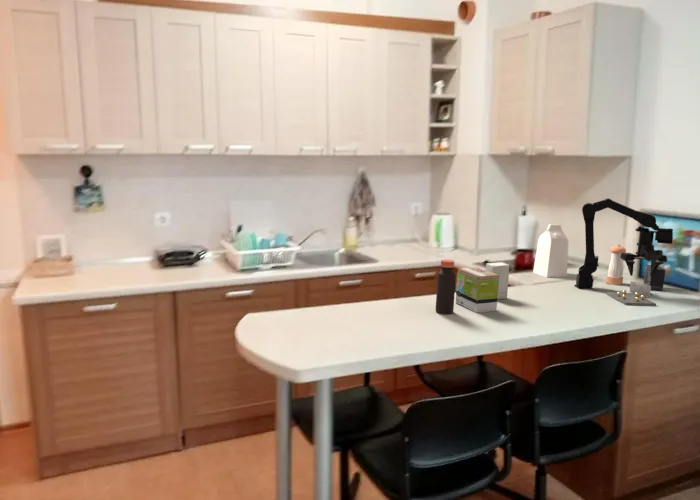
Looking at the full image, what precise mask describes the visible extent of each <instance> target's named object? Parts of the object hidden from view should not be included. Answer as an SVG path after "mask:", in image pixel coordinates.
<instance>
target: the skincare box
mask: <svg viewBox="0 0 700 500" xmlns="http://www.w3.org/2000/svg"><path fill="white" fill-rule="evenodd" d="M485 270H486V271H489V272H492V273H495V274H497V275H499V285H498V298H497V300H502V299H503V300H505V299H508V289H509V277H510V276H509V273H510V264H508V263H505V262H502V261H501V262H491V263H489V262H488V263H485Z"/></svg>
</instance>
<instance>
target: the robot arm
mask: <svg viewBox="0 0 700 500" xmlns="http://www.w3.org/2000/svg"><path fill="white" fill-rule="evenodd" d="M605 209H611V210H612V211H615V212H618V213H620V214H622V215H624V216H627V217H628V218H631V219H633V220H634V221H635V222H638V223H639V224H641V225H642V226H644V227H642V226H641V225H639V226H638V227H636V228H635V231H636V232H639V236H638V242H637V243H636V246H637V251H635V253H631V252H625V253H622V254H621V257H620V258H621V259H623V262H625V264H626V266H627V269H628V272H629V275H630V276H633V274H634V266H635V263H636V261H635V260H645V261H648V262H650V265H651V270H650V276H653V275H654V273H655V271H656V269H657V268H658V266H661V265H664V263H667V262H668V257H667V255H666V254H663V252H664V251H663V250H662V249H655V245H654V241H656V242H657V244H665V245H667V244H668V245H672V244H673V240H674V234H673V233H674V232H673V230H674V229H673V228H670V227H669V228H666V227H664V228H663V227H660V226H659V225H658V224H657V218H656V216H655V215H653V214H652V213H648V212H645V211H644V212H643V211H639V210H635V209H634V208H631V207H629V206H626V205H624V204H622V203H620V202H618V201H615V200H613V199H611V198H609V197H608V198H605V199H603V200H599V201H596V202H593V203H592V202H586V203H584V204H583V205H582V208H581V212H582V216H583V217H582V218H583V220H584V225H585V226H584V228H585V232H584V233H585V255H584V262H583V265H581V266H579V268H578V273H577V274H576V280H575V281H576V282H575V284H574V285H573V286H574V287H575V288H578V289H579V290H585V289H586V290H594V286H593V285H594V277H593V276H594V275H593V274H594V273H595V272H596V271H597V270H598V268H599V267H600V265H599V256H598V255H596V253H595V232H594V223H595V216H596V213H597V212H601V211H603V210H605ZM650 228H651V229H652V230H650Z"/></svg>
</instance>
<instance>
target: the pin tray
mask: <svg viewBox="0 0 700 500" xmlns="http://www.w3.org/2000/svg"><path fill="white" fill-rule="evenodd" d="M606 296H608V297H610V298H611V299H614V300H616V301H617V302H620V303H621V304H623V305H624V306H640V307H641V306H644V307H645V306H646V307H647V306H649V307H656V306H657V303H656V302H653V301H652V300H650V299H648V298H647V297H645V295H641V296H640V295H639V293H638V292H636V293H631V292H627V290H626V289H622V291H617V292H612V291H611V292H610V291H609V292H608V291H607V292H606Z"/></svg>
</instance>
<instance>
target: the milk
mask: <svg viewBox="0 0 700 500" xmlns="http://www.w3.org/2000/svg"><path fill="white" fill-rule="evenodd" d="M535 251H536V252H535V257H534V258H535V259H534V264H533V269H532V270H533V271H532V273H533V274H536V275H540V276H541V277H545V278H560V277H563V278H564V277H565V278H566V277H567V276H568V260H569V259H568V257H569V239H568V237H567V235H566V234H565V232H564V230H562V225H561V224H557V223H556V224H551V223H548V226H547V228H546V230H545V231H543V233H541V234H540V236H539V237H538V239H537V246H536V250H535Z"/></svg>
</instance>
